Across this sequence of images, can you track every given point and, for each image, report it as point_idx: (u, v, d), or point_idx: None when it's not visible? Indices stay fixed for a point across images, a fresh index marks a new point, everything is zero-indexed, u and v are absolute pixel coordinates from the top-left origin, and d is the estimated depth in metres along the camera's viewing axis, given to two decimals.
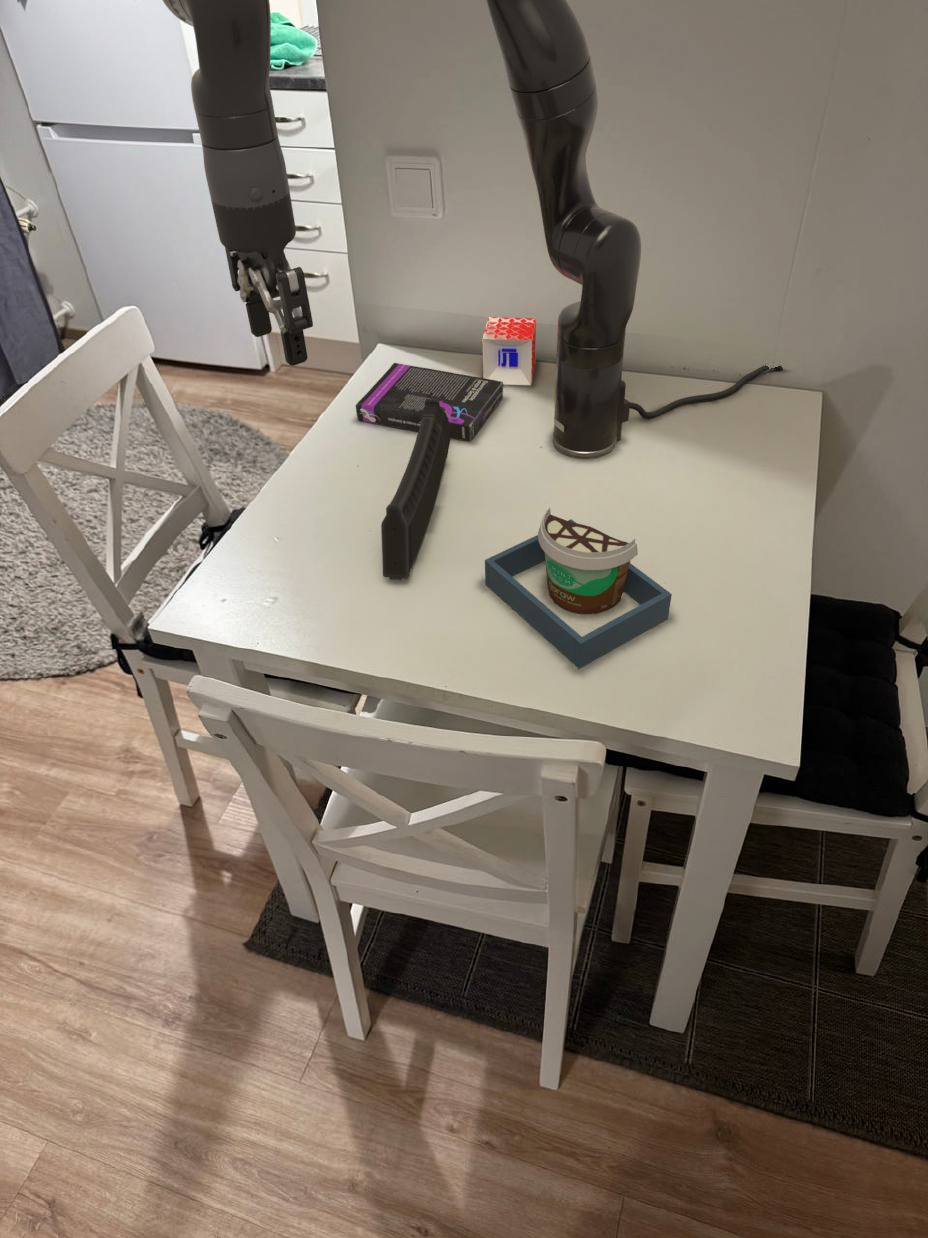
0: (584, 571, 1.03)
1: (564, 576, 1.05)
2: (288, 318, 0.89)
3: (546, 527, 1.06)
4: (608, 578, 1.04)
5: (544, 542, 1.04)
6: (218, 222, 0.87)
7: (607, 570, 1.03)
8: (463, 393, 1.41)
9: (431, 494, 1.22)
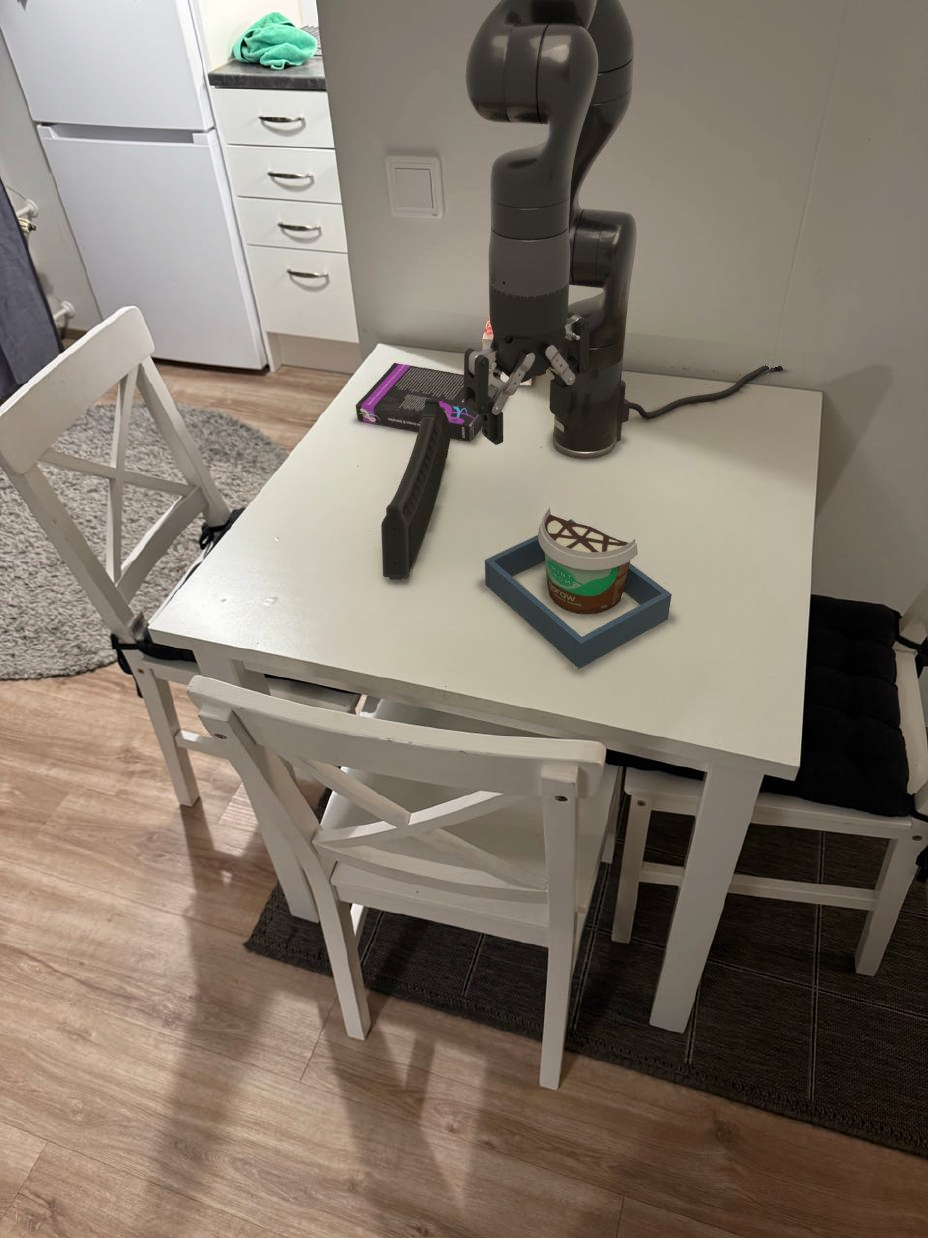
0: (584, 571, 1.03)
1: (564, 576, 1.05)
2: None
3: (546, 527, 1.06)
4: (608, 578, 1.04)
5: (544, 542, 1.04)
6: None
7: (607, 570, 1.03)
8: (463, 393, 1.41)
9: (431, 494, 1.22)
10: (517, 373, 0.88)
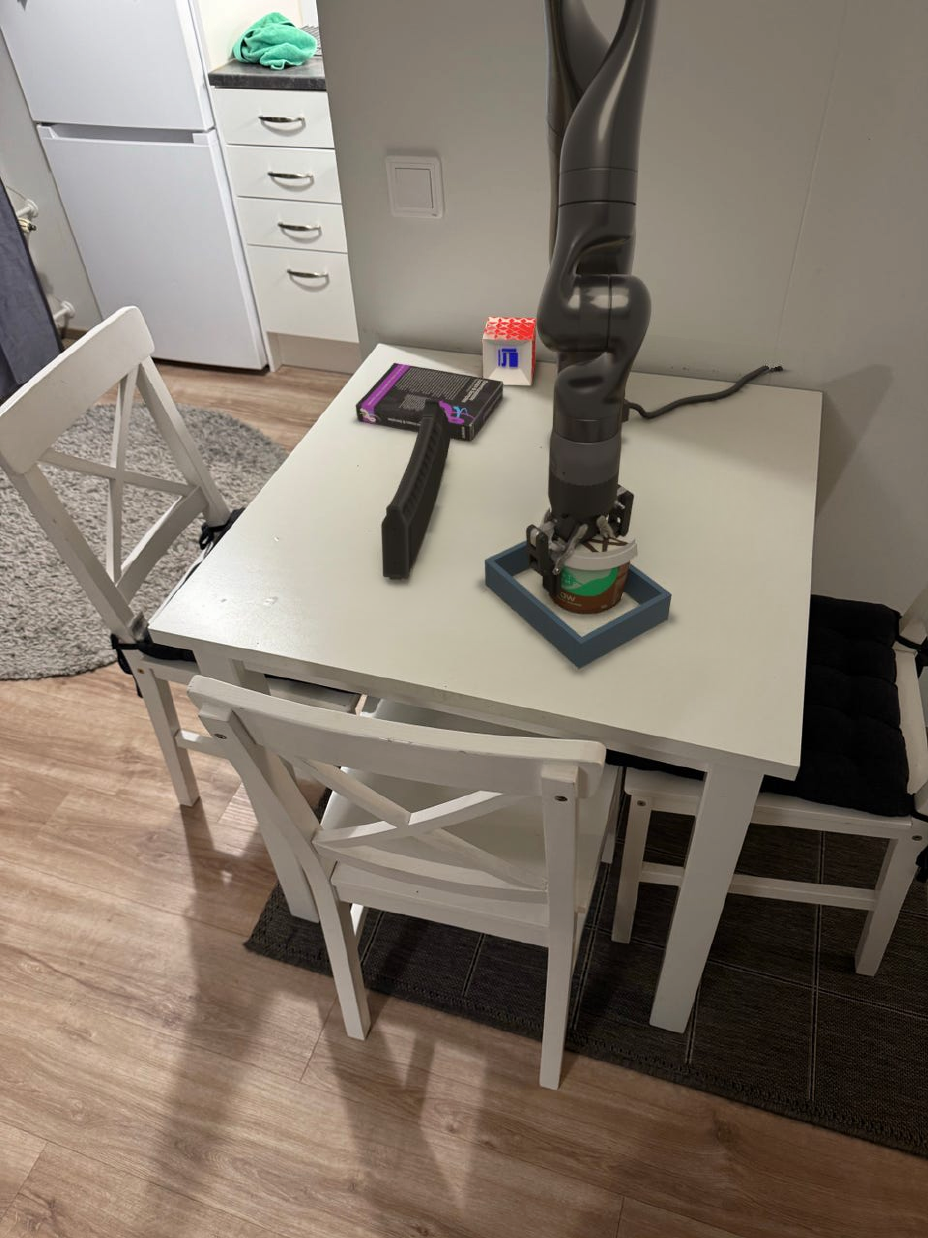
0: (584, 571, 1.03)
1: (564, 576, 1.05)
2: None
3: None
4: (608, 578, 1.04)
5: None
6: None
7: (607, 570, 1.03)
8: (463, 393, 1.41)
9: (431, 494, 1.22)
10: (573, 541, 1.01)
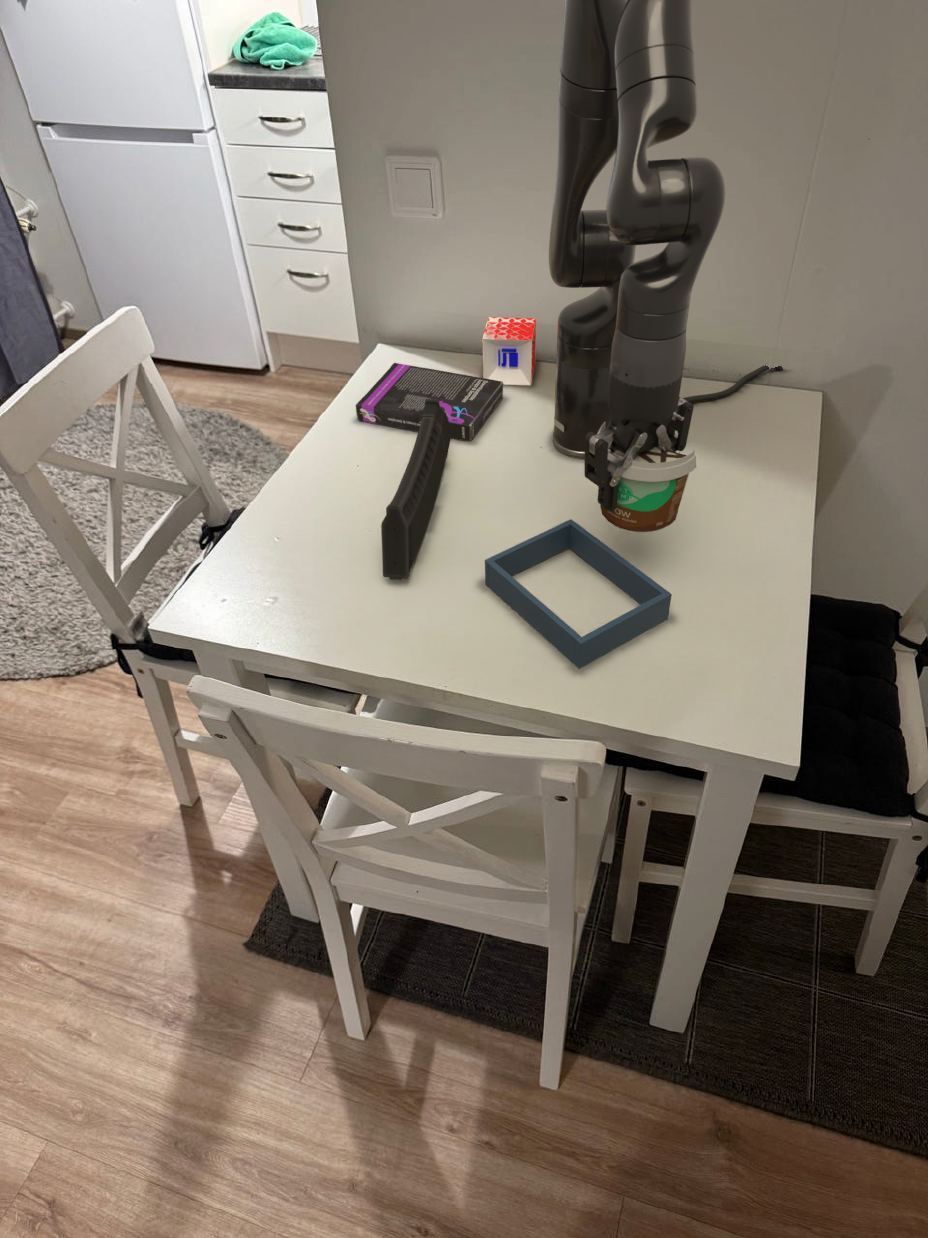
0: (642, 484, 1.01)
1: (620, 490, 1.03)
2: None
3: None
4: (666, 492, 1.02)
5: None
6: None
7: (665, 483, 1.01)
8: (463, 393, 1.41)
9: (431, 494, 1.22)
10: (632, 451, 0.99)
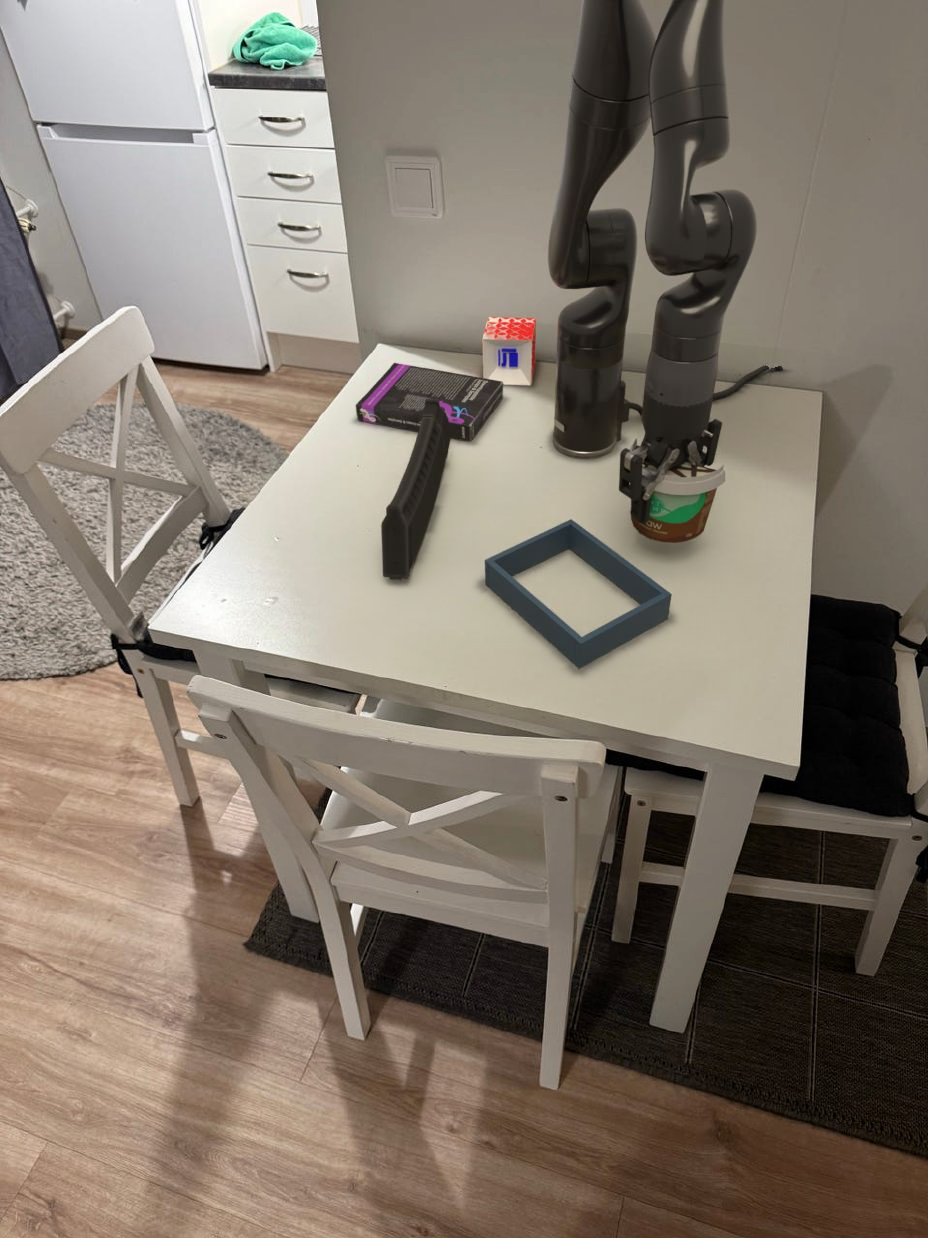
0: (673, 497, 1.06)
1: (652, 503, 1.08)
2: (620, 481, 1.05)
3: None
4: (696, 505, 1.07)
5: None
6: None
7: (696, 496, 1.06)
8: (463, 393, 1.41)
9: (431, 494, 1.22)
10: (664, 466, 1.03)
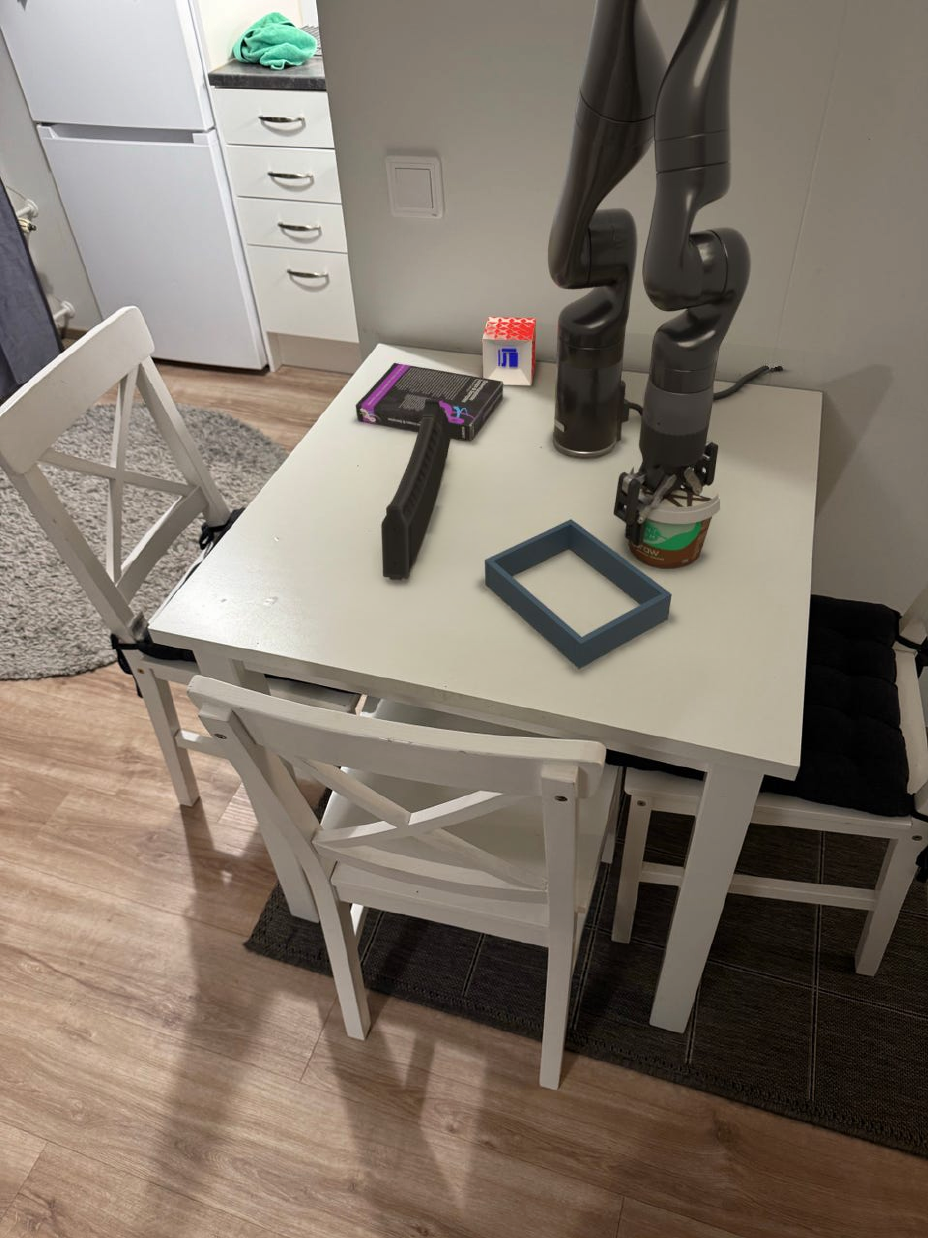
0: (670, 525, 1.09)
1: (649, 531, 1.11)
2: None
3: None
4: (692, 532, 1.10)
5: None
6: None
7: (692, 524, 1.09)
8: (463, 393, 1.41)
9: (431, 494, 1.22)
10: (661, 491, 1.06)
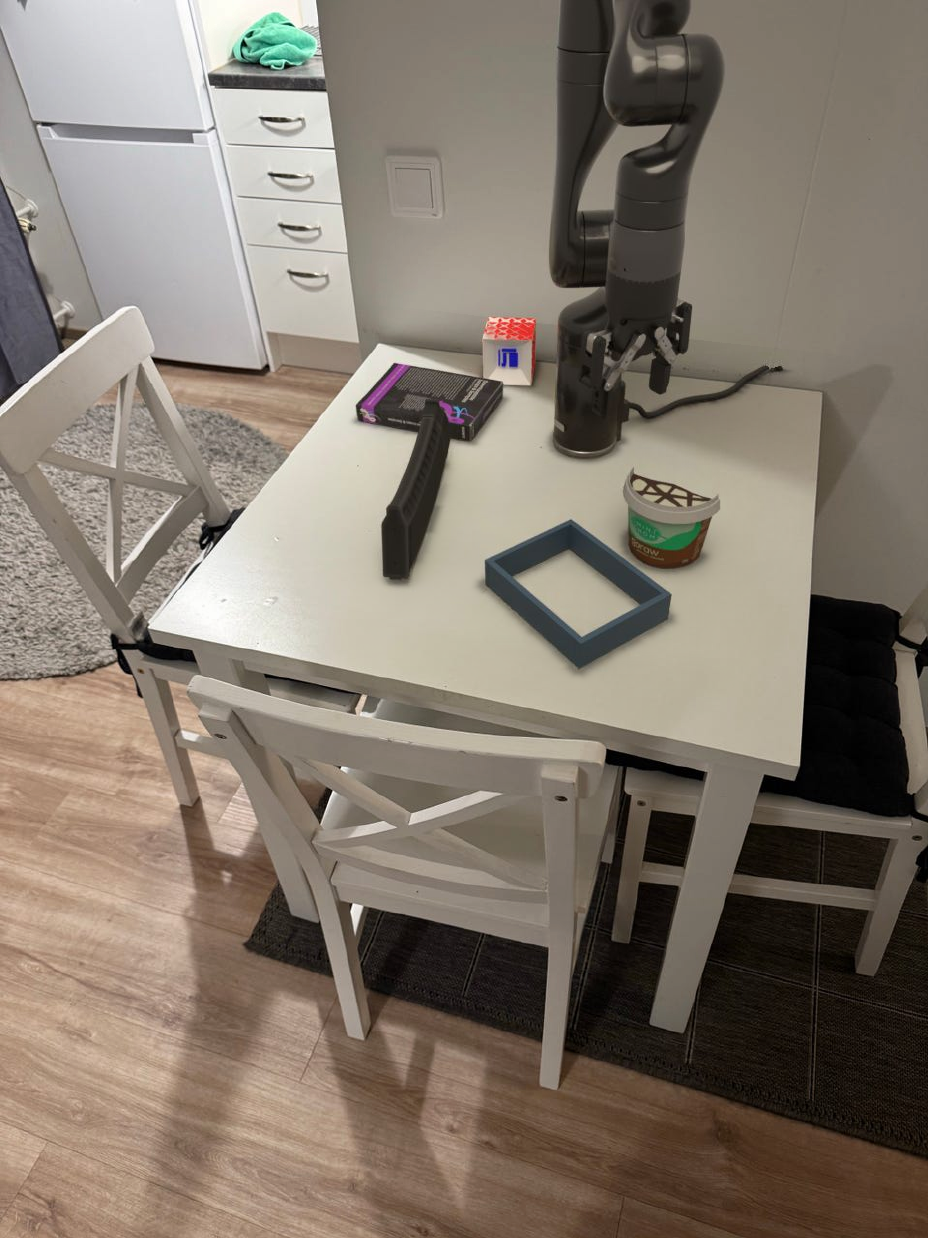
0: (670, 525, 1.09)
1: (649, 531, 1.11)
2: None
3: (631, 485, 1.12)
4: (692, 532, 1.10)
5: (631, 498, 1.10)
6: None
7: (692, 524, 1.09)
8: (463, 393, 1.41)
9: (431, 494, 1.22)
10: (629, 352, 0.97)
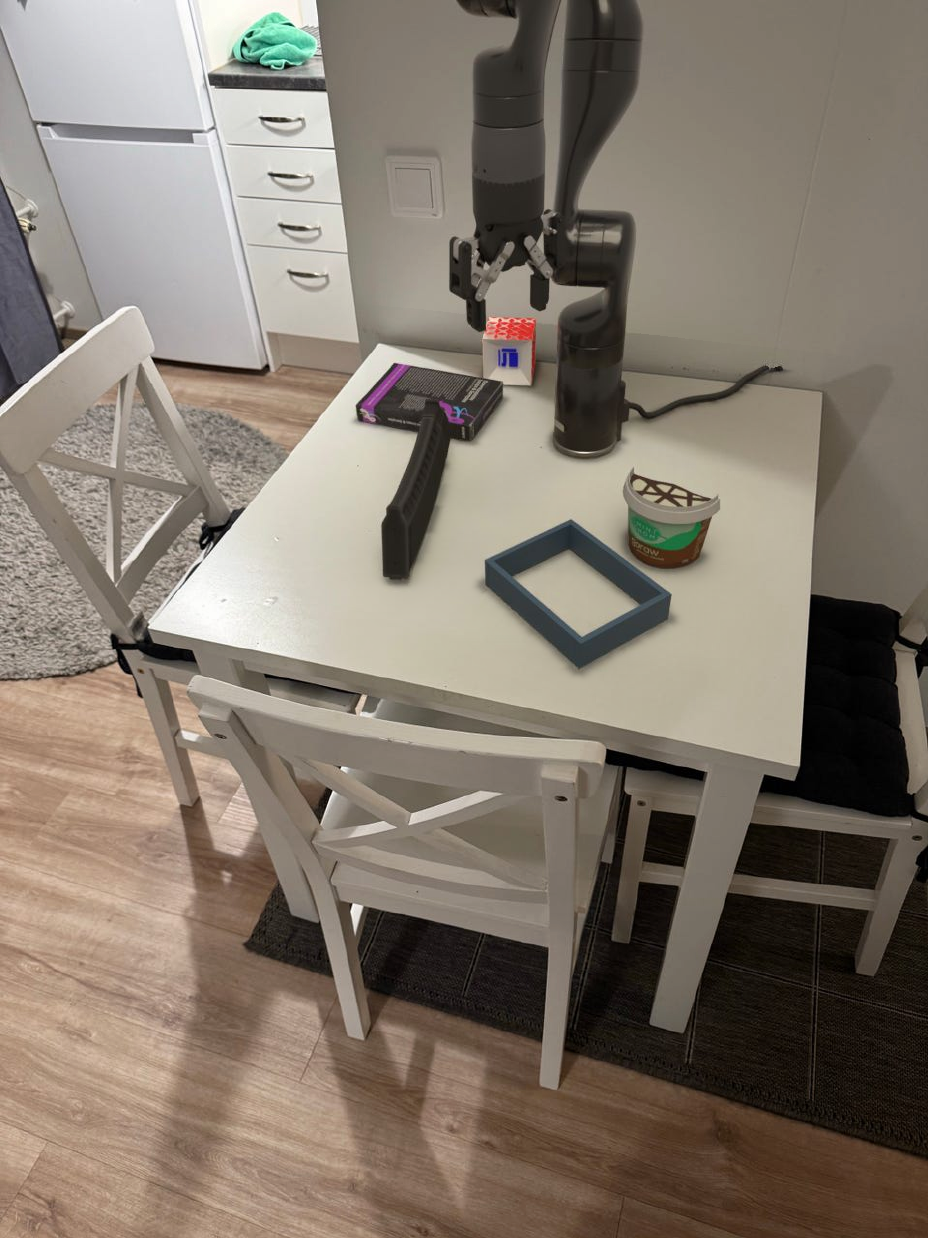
0: (670, 525, 1.09)
1: (649, 531, 1.11)
2: None
3: (631, 485, 1.12)
4: (692, 532, 1.10)
5: (631, 498, 1.10)
6: None
7: (691, 524, 1.09)
8: (463, 393, 1.41)
9: (431, 494, 1.22)
10: (498, 260, 0.97)
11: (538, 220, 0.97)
